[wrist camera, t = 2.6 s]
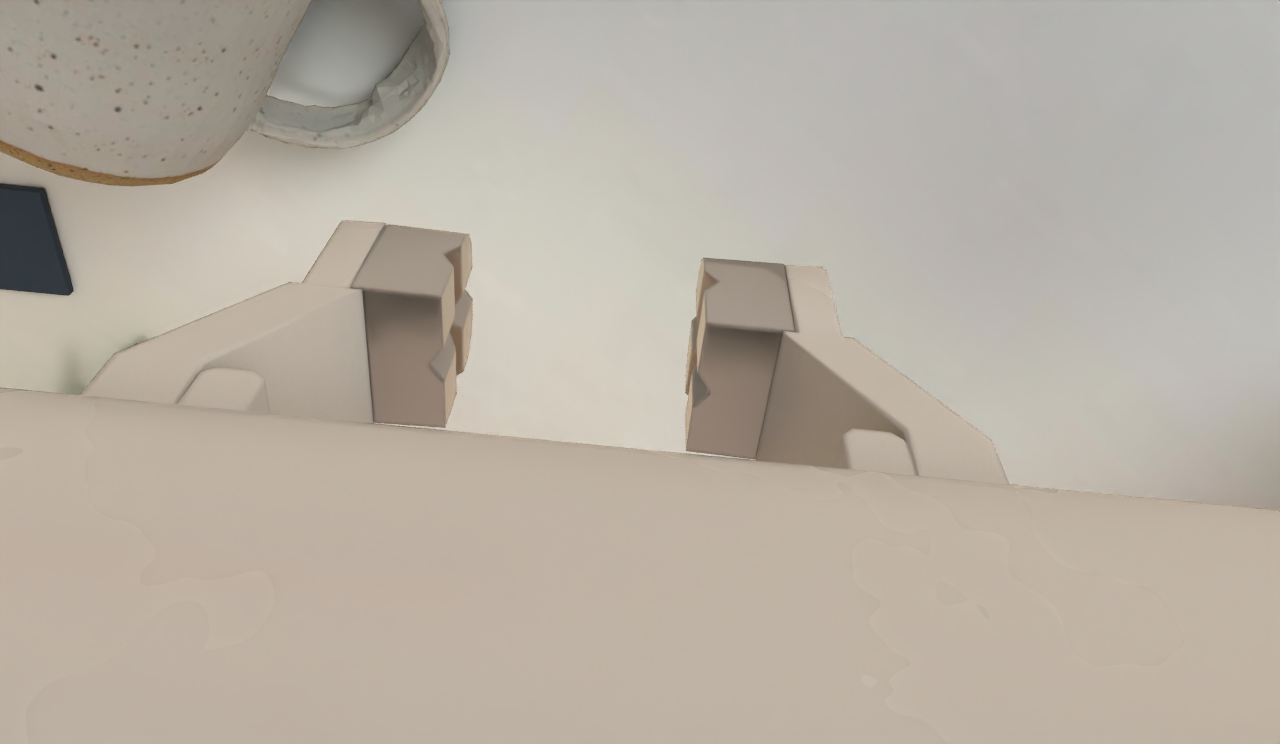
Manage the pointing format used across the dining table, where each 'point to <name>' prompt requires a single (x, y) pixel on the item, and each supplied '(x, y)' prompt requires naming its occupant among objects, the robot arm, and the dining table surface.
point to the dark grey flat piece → (30, 243)
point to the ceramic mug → (177, 85)
